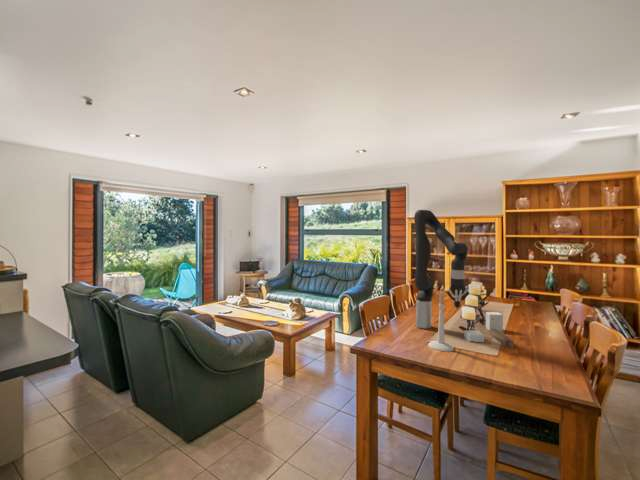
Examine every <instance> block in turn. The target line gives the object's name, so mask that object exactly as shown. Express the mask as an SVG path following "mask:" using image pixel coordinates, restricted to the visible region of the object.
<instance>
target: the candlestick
mask: <svg viewBox="0 0 640 480" xmlns="http://www.w3.org/2000/svg"><path fill="white" fill-rule="evenodd" d="M444 299H445V292H444V291H439V303H438V304H437V305H438V307H439V311H438V312H439V315H438V327H437V329H438V330H437V340H432V341H430V342H429V343H428V344H427V345H428V348H430V349H431V350H433V351H438V352H448V353H449V352H452V351H453V352H454V350H455V348H454V345H453V344H451V343H449V342H447V341H446V339H445V321H444V320H445V316H444V315H445V313H444V309H445V306H446V304H444V303H445V302H444V301H445V300H444Z"/></svg>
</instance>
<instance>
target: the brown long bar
mask: <svg viewBox="0 0 640 480" xmlns="http://www.w3.org/2000/svg"><path fill="white" fill-rule="evenodd" d="M489 335H490V336H491V337H492V338H494V339H495V340H496V342H498V343H500V344H501V345H502V346H504V347H505V348H514V340H513V339H512V338H510V337H509V336H507V335H506V334H504V333H503V331H499V330H498V329H490V331H489Z"/></svg>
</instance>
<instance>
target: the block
mask: <svg viewBox="0 0 640 480" xmlns="http://www.w3.org/2000/svg"><path fill="white" fill-rule="evenodd" d="M463 336H464V338H465V340H467V341H468V342H470V341H474V342H475V343H484V342H485V335H484V333H482V332H481V331H480V330H466V329H465V330H464V334H463ZM474 342H473V343H474Z"/></svg>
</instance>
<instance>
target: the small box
mask: <svg viewBox="0 0 640 480" xmlns="http://www.w3.org/2000/svg"><path fill="white" fill-rule="evenodd" d="M485 329H486V330H487V331H489V332H490V329H498V330H499V331H500V332H503V329H504V315H503V314H502V313H500V312H494V311H492V312H490V311H489V312H488V311H486V312H485Z"/></svg>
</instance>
